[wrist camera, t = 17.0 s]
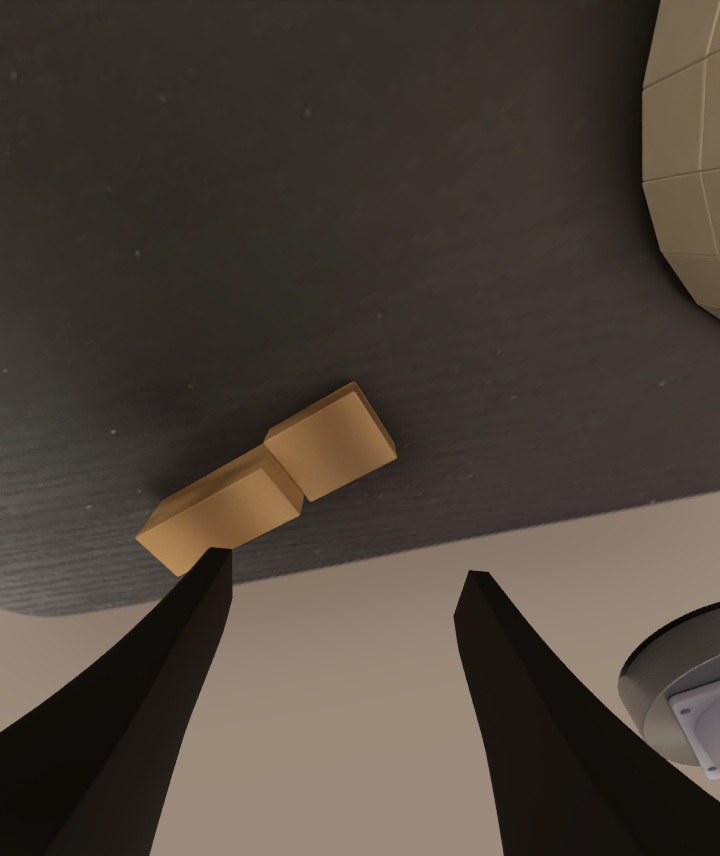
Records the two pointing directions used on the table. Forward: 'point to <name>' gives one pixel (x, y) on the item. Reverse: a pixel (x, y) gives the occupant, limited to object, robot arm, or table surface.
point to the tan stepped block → (270, 480)
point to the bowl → (685, 143)
